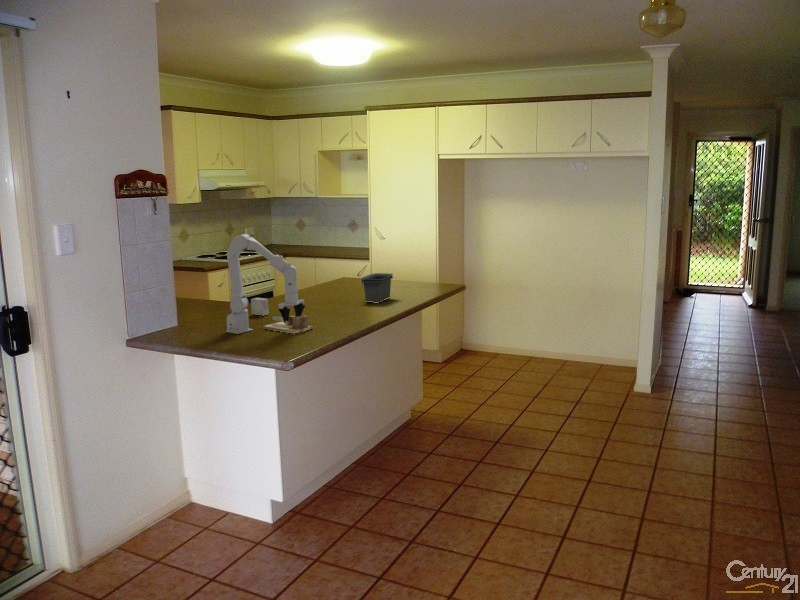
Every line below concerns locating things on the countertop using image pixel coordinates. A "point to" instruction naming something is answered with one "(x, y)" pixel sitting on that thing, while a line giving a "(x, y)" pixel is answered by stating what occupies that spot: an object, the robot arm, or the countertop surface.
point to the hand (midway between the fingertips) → (292, 321)
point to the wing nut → (290, 321)
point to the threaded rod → (278, 318)
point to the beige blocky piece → (297, 325)
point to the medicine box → (259, 306)
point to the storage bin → (377, 286)
